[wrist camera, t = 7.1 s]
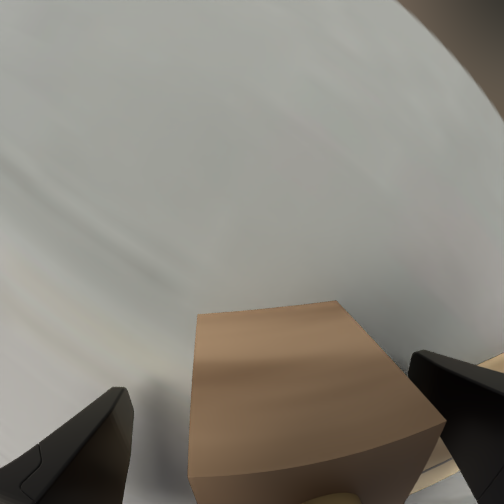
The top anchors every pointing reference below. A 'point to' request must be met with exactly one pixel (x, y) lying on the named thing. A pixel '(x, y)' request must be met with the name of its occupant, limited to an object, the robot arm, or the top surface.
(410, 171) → the top surface
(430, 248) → the top surface
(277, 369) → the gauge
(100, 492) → the robot arm
